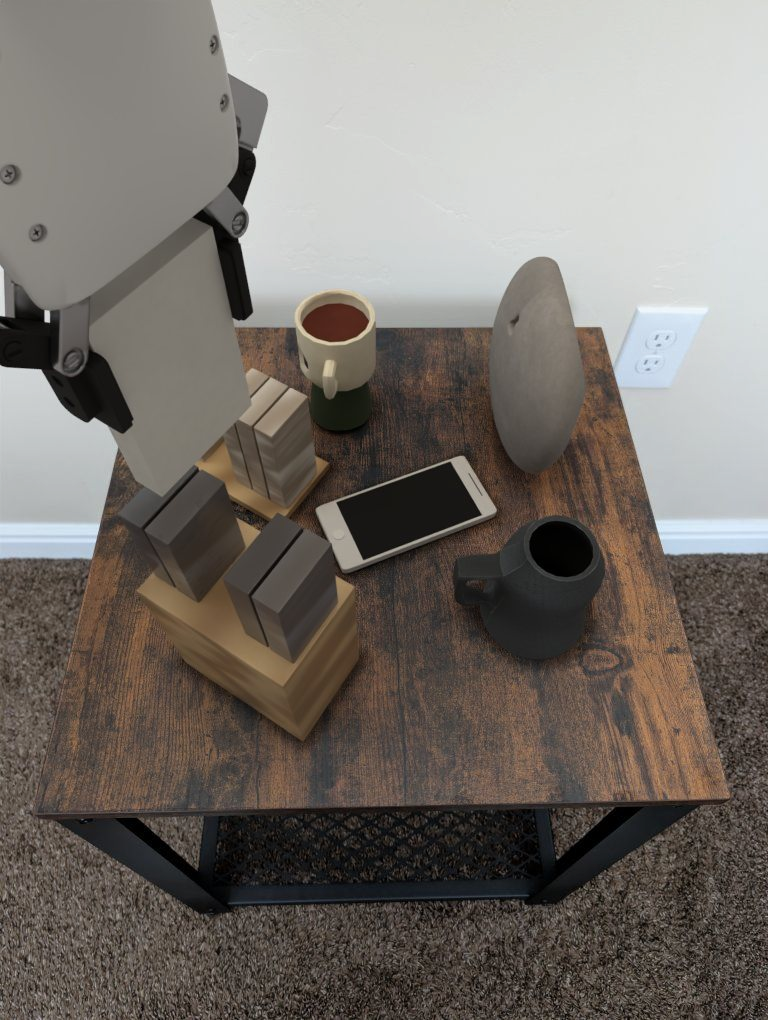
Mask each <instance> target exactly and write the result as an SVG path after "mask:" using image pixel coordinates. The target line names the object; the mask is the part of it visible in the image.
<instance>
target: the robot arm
mask: <svg viewBox="0 0 768 1020" xmlns="http://www.w3.org/2000/svg"><path fill="white" fill-rule="evenodd" d="M224 53H225V52H224V50H223V45H222V41H221V36H220V32H219V26H218V23H217V18H216V14H215V11H214V6H213V3H212V0H0V267H1V268H2V269H3V290H4V291H3V292H4V293H3V294H4V295H3V296H4V315H0V366H1V367H3V368H10V369H26V370H39V371H40V370H41V372H42V374H43V376H44V377H45V379H46V381H47V382H48V384H49V386H50V388H51V389H52V391H53V393H54V395H55V396H56V398H57V400H58V402H59V403H60V405H62V407H63V408H64V409H65V410H66V411H67V412H68V413H69V414H71V415H72V416H74V417H75V418H77V419H78V420H80V421H81V422H83V423H86V424H88V423H90V422H92V420H94V419H96V420H97V421H99V422H100V423H102V424H104V425H106V426H107V427H108V426H109V427H111V428H112V429H114V430H116V431H117V432H119V433H121V434H124V433H125V432H126V431H127V430H128V429H129V428H131V427H132V426H133V423H132V421H133V420H134V418H133V416H132V414H131V412H130V409H129V407H128V405H127V403H126V401H125V398H124V396H123V394H122V392H121V390H120V387H119V385H118V383H117V381H116V379H115V377H114V374H113V372H112V370H111V368H110V366H109V363H108V362H107V360H106V359H105V358H104V357H103V356H101V355H100V354H98V353H96V352H92V351H90V350H88V347H89V322H90V296H91V295H92V294H93V293H95V292H96V291H98V290H99V289H100V288H102V287H103V286H105V285H106V284H107V283H109V282H110V281H111V280H113V279H114V278H115V277H117V276H118V275H119V274H121V273H122V272H123V271H125V270H126V269H127V268H129V267H130V266H131V265H132V264H134V263H135V262H136V261H138V260H139V259H140V258H141V257H143V256H144V255H145V254H146V253H148V252H149V251H150V250H152V249H153V248H154V247H155V246H157V245H158V244H159V243H161V242H162V241H163V240H164V239H166V238H167V237H168V236H169V235H171V234H172V233H173V232H174V231H176V230H177V229H178V228H179V227H181V226H182V225H183V224H184V223H186V222H187V221H188V220H189V219H191V218H194V219H197V220H199V221H201V222H203V223H205V224H207V225H209V226H212V228H213V232H214V237H215V241H216V246H217V250H218V255H219V259H220V264H221V268H222V273H223V277H224V282H225V286H226V291H227V295H228V300H229V304H230V309H231V313H232V318H233V320H236V321H239V322H240V321H247V319H249V318H250V317H251V316H252V315H253V313H254V308H253V303H252V297H251V292H250V286H249V281H248V276H247V270H246V266H245V265H246V264H245V261H244V254H243V249H242V243H240V241H239V238H241V237H242V236H244V235H245V233H246V232H247V230H248V227H249V223H250V216H249V213H248V210H247V208H245V206H244V205H245V201H246V198H247V195H248V192H249V190H250V186H251V184H252V181H253V177H254V176H255V175H254V174H255V171H256V167H257V158H256V155H255V152H254V149H256V150H257V148H258V145H259V142H260V137H261V134H262V131H263V128H264V123H265V120H266V117H267V112H268V108H269V100H268V97H267V95H266V94H265V93H264V92H262V91H261V90H259V89H257V88H255V87H254V86H252V85H250V84H249V83H247V82H245V81H243V80H241V79H239V78H238V77H235V76H234V75H232V74H230V73H229V72H228V68H227V61H226V59H225V54H224ZM47 311H48V312H49V311H50V312H49V322H47V321H46V314H45V312H47Z"/></svg>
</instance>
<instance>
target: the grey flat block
mask: <svg viewBox="0 0 768 1020" xmlns="http://www.w3.org/2000/svg"><path fill="white" fill-rule="evenodd" d="M48 312H49V313H50V311H48ZM88 350H90V351H92V352H96V353H98V354H100V355H101V356H103V357H104V358H105V359H106V360H107V362H108V363H109V366H110V368H111V370H112V372H113V374H114V377H115V379H116V381H117V383H118V385H119V387H120V390H121V392H122V394H123V396H124V398H125V401H126V403H127V405H128V407H129V409H130V412H131V414H132V416H133V418H134V420H133V421H132V423H133V426H132V427H131V428H129V429H128V430H127V431H126V432H125V433H124V434H121V433H119V432H117V431H116V430H114V429H112V428H111V427H109V426H107V428H108V430H109V432H110V434H111V436H112V437H113V440H114V441H115V444H116V445H117V447H118V449H119V451H120V453H121V455H122V457H123V459H124V461H125V463H126V465H127V466H128V469H129V470H130V473H131V474H132V476H133V479H134V481H136V482H138V484H140V485H142V486H143V487H144V486H145V487H147V488H149V489H150V490H152V491H153V492H155V493H157V494H158V495H160V496H161V497H163V496H164V495H165V494H166V493H167V492H168V491H169V490H170V489H171V488H172V487H173V486H174V485H175V484H176V483H177V482H178V480H179V479H180V478H181V477H182V476H183V475H184V474H185V473H186V472H187V471H188V470H189V469H190V468H191V467H192V466H193V465H194V464H195V463H196V462H197V461H198V460H199V459H200V458H201V457H202V456H203V455H204V454H205V453H206V452H207V451H208V450H209V449H210V448H211V447H212V446H213V445H214V444H215V443H216V442H217V440H218V439H219V438H220V437H221V436H222V435H223V434H224V433H225V432H226V431H227V430H228V429H229V428H230V427H231V426H232V425H233V424H234V423H235V422H236V421H237V420H238V419H239V418H240V417H241V416H242V415H243V414H244V413H245V412H246V411H247V410H248V409H249V408H250V407H251V406H252V403H251V398H250V394H249V389H248V385H247V380H246V376H245V374H246V373H245V367H244V363H243V359H242V353H241V349H240V345H239V340H238V336H237V332H236V326H235V322H234V318H232V313H231V309H230V304H229V300H228V295H227V291H226V286H225V282H224V277H223V273H222V268H221V264H220V259H219V255H218V250H217V246H216V241H215V237H214V232H213V228H212V226H209V225H207V224H205V223H203V222H201V221H199V220H197V219H194V218H191V219H189V220H188V221H187V222H186V223H184V224H183V225H182V226H181V227H179V228H178V229H177V230H176V231H174V232H173V233H172V234H171V235H169V236H168V237H167V238H166V239H164V240H163V241H162V242H161V243H159V244H158V245H157V246H155V247H154V248H153V249H152V250H150V251H149V252H148V253H146V254H145V255H144V256H143V257H141V258H140V259H139V260H138V261H136V262H135V263H134V264H132V265H131V266H130V267H129V268H127V269H126V270H125V271H123V272H122V273H121V274H119V275H118V276H117V277H115V278H114V279H113V280H111V281H110V282H109V283H107V284H106V285H105V286H103V287H102V288H100V289H99V290H98V291H96V292H95V293H93V294H92V295H91V296H90V322H89V347H88Z"/></svg>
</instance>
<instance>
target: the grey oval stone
mask: <svg viewBox="0 0 768 1020" xmlns="http://www.w3.org/2000/svg"><path fill="white" fill-rule="evenodd" d="M568 296H569V295H568V293H567V289H566V286H565V282H564V278H563V275H562V272H561V269H560V266H559V264H558V262H557V261H556V260H554V259H553V258H551V257H548V256H536V257H533V258H530V259H528V260H527V261H526V262H524V263H523V264H522V265H520V267H519V268H518V269H517V271H516V272H515V274H514V275H513V276H512V278H511V280H510V281H509V283H508V285H507V287H506V288H505V291H504V293H503V294H502V297H501V300H500V303H499V305H498V308H497V311H496V314H495V318H494V321H493V326H492V331H491V338H490V346H489V357H488V380H489V381H488V383H489V384H488V385H489V394H490V402H491V404H490V405H491V411H492V415H493V419H494V424H495V427H496V430H497V433H498V436H499V439H500V442H501V443H502V446H503V448H504V451H505V453H506V454H507V456H508V457H509V458H510V459H511V461H512V463H514V464H515V466H517V467H518V469H520V470H521V471H523V472H525V473H527V474H530V475H539V474H542V473H544V472H545V471H548V469H550V468H551V467H553V465H554V464H555V463H557V462H558V460H559V459H560V457H561V456H562V455H563V453H564V452H565V450H566V448H567V447H568V445H569V443H570V440H571V438H572V437H573V433H574V431H575V429H576V425H577V423H578V419H579V417H580V413H581V410H582V407H583V405H584V401H585V398H586V393H587V386H586V377H585V371H584V365H583V364H584V363H583V359H582V355H581V350H580V343H579V339H578V335H577V330H576V326H575V321H574V316H573V313H572V308H571V304H570V301H569V300H570V299H569V297H568Z"/></svg>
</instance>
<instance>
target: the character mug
mask: <svg viewBox="0 0 768 1020" xmlns="http://www.w3.org/2000/svg"><path fill="white" fill-rule="evenodd" d="M375 313H376V312H375V308H374V306H373V305H372V304H371V303H370V301H369V300H368V298H366V297H365V296H363V295H361V294H359V293H358V292H356V291H352V290H347V289H343V288H333V289H332V288H331V289H324V290H321V291H317V292H315V293H312V294H311V295H308V297H306V298H305V299H303V300H302V301H301V302H300V303H299V305H298V306H297V307H296V310H295V312H294V327H295V334H296V341H297V348H298V357H299V366H300V370H301V372H302V373H303V375H304V376H305V378H306V379H307V380H308V381H310V382H311V387H310V401H309V411H310V415H311V417H312V419H313V421H314V422H315V423H316V424H317V425H318V426H320V427H321V428H322V429H324V430H331V431H337V432H339V431H349V430H353V429H355V428H359V427H360V426H362V425H364V424H365V423H366V421H368V419H369V418H370V417H371V416H372V409H373V401H372V395H371V390H370V389H371V388H370V385H369V384H370V383H369V380H370V379H371V378H372V376H373V374H374V372H375V369H376V367H377V366H376V365H377V322H376V314H375Z"/></svg>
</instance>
